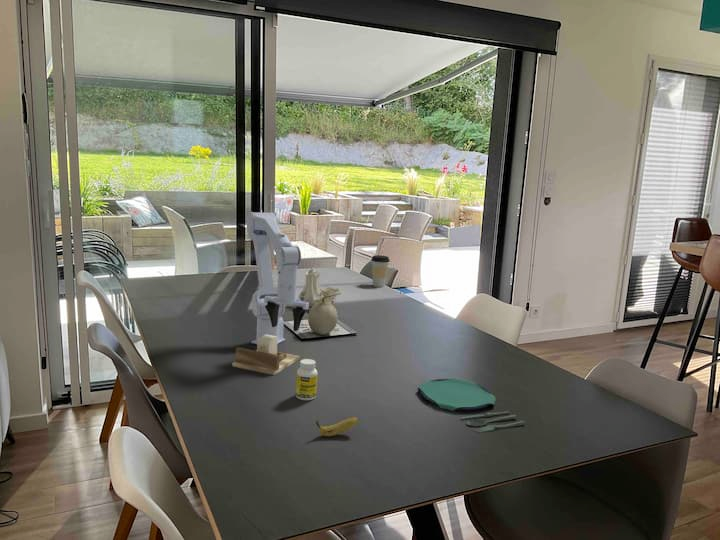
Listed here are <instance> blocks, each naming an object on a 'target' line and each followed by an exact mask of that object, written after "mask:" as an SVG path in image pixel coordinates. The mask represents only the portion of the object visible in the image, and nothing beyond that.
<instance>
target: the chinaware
mask: <svg viewBox="0 0 720 540" xmlns="http://www.w3.org/2000/svg"><path fill="white" fill-rule="evenodd" d="M304 275H305V282H304V286H303V288H302V291H301V292H300V293H299V295H298V297H297V298H298V300H301V301H305V302H309V307H310V308H312V307H313V306H314V305H315V304H317V303H318V302H319V301H320V300H321V298H323V297H326V296H329V295H334V294H339V292H340V289H339V288H333V287H331V286H330V287H326V288H324V287H320V285H319V284H320V281H319V278H320V275H321V274H320V273H318V272H317V271H316V270H315V268H314V267H311V268H310V270H309V271H308V272H305V273H304ZM337 297H338V295H335V296H331V297H328V298H326V299H325V300H324V302H327V303H330V304H331V305H332V303H333V302H334V301H335V300H336V298H337ZM320 302H322V300H321V301H320Z"/></svg>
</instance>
